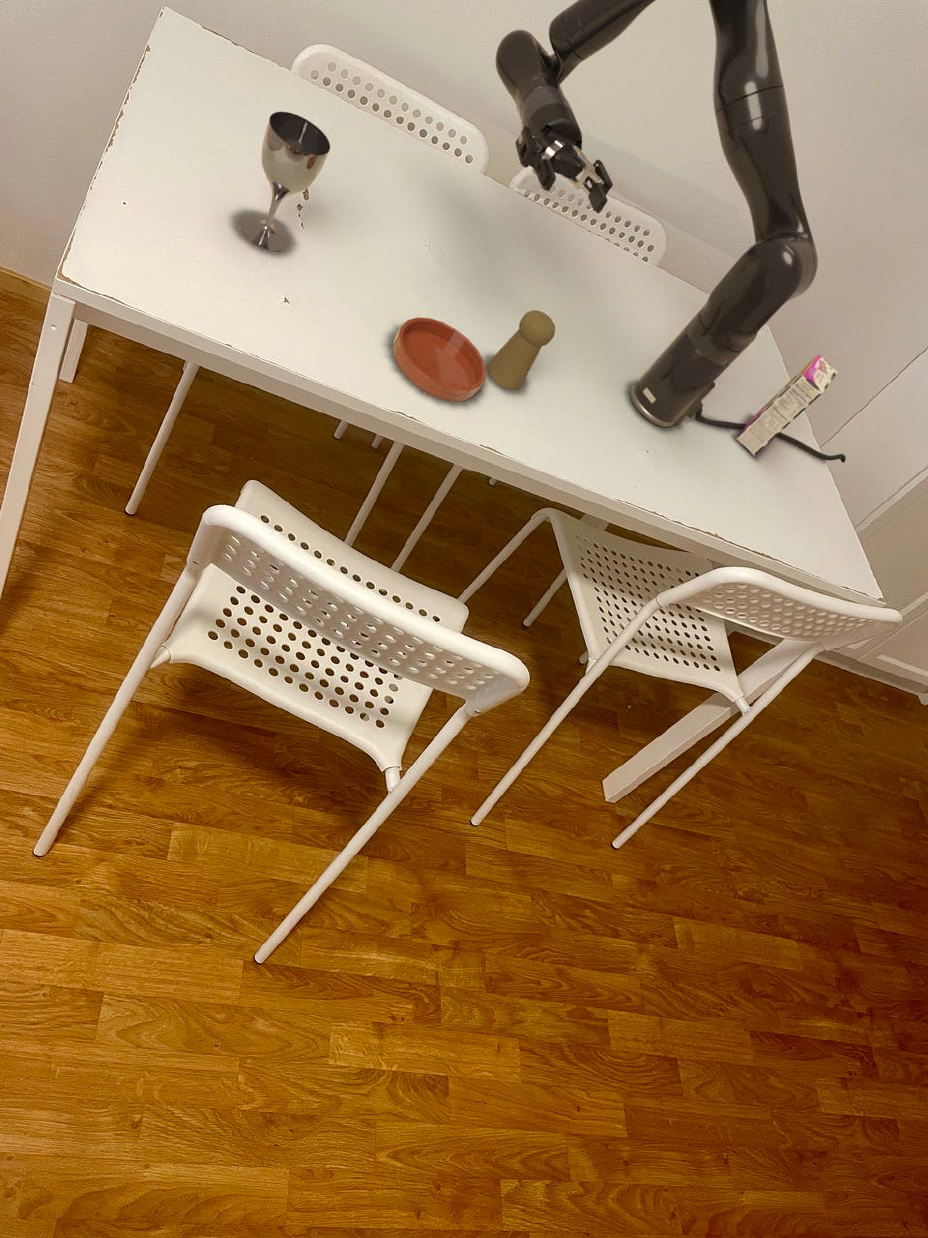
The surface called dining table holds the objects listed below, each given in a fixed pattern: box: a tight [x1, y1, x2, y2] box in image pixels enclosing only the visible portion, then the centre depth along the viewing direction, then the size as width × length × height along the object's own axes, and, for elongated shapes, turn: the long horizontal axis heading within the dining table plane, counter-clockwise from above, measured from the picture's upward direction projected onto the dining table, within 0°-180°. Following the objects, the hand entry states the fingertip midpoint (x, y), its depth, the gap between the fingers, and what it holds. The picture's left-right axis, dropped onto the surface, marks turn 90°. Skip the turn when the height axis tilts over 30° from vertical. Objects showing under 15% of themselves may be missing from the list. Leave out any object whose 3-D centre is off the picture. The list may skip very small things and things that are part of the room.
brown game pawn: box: [486, 309, 556, 391], centre depth 124 cm, size 6×6×11 cm
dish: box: [392, 316, 487, 402], centre depth 120 cm, size 14×14×2 cm
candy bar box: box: [735, 353, 839, 457], centre depth 149 cm, size 11×5×16 cm, turn 144°
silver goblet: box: [238, 111, 331, 253], centre depth 112 cm, size 8×8×15 cm
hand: (576, 195), depth 116 cm, fingers open, 8 cm apart
